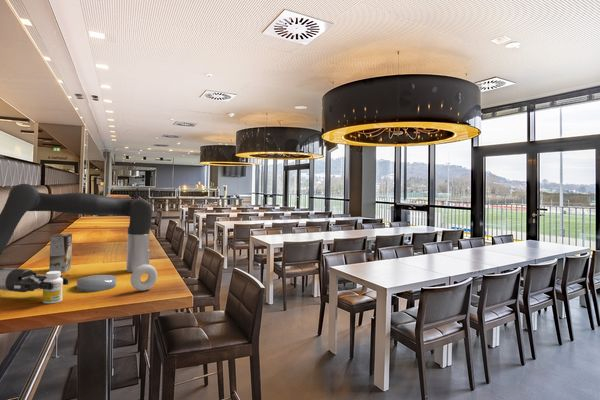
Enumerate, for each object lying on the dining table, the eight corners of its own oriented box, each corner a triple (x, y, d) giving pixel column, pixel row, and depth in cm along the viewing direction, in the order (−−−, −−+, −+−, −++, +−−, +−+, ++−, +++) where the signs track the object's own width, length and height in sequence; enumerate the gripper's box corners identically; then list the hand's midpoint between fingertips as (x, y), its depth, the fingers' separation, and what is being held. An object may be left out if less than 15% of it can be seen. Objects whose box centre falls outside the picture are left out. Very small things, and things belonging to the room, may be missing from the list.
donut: (132, 294, 125) (133, 267, 125) (128, 292, 127) (129, 265, 127) (158, 289, 132) (159, 263, 132) (154, 287, 135) (155, 261, 135)
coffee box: (66, 272, 151) (67, 236, 150) (48, 273, 148) (49, 236, 148) (71, 267, 159) (72, 233, 159) (54, 268, 157) (55, 233, 156)
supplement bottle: (49, 298, 116) (50, 270, 116) (66, 298, 117) (66, 270, 117) (38, 303, 111) (39, 273, 111) (56, 304, 112) (56, 274, 111)
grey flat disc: (114, 280, 141) (114, 273, 141) (117, 289, 130) (117, 281, 130) (76, 284, 134) (77, 276, 134) (76, 293, 123) (76, 285, 123)
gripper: (-7, 273, 108) (41, 277, 106) (34, 264, 123) (77, 267, 121) (-7, 297, 109) (40, 301, 106) (34, 285, 123) (76, 289, 121)
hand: (60, 283), depth 114 cm, fingers closed on supplement bottle, 5 cm apart
